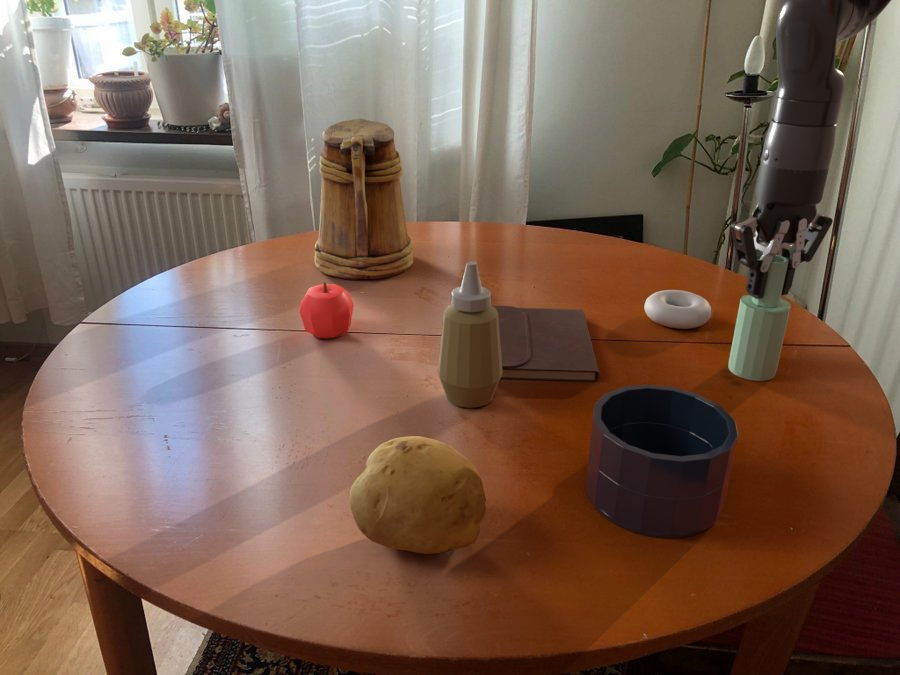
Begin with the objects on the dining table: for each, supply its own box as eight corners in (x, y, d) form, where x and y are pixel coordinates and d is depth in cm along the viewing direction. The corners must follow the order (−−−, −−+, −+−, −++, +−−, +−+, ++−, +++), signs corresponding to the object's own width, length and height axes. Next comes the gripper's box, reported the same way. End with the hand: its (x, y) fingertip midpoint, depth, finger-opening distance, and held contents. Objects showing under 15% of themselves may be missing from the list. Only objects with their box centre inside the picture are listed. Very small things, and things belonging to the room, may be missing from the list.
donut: (665, 301, 121) (630, 317, 115) (668, 281, 120) (632, 297, 114) (721, 320, 115) (687, 338, 109) (725, 300, 113) (691, 317, 107)
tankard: (407, 243, 146) (404, 113, 135) (422, 289, 126) (420, 139, 114) (314, 248, 144) (303, 116, 133) (314, 295, 123) (301, 143, 112)
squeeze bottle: (454, 376, 99) (455, 247, 91) (511, 389, 95) (517, 257, 87) (426, 404, 92) (424, 268, 84) (486, 420, 89) (489, 280, 81)
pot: (714, 463, 81) (728, 392, 77) (729, 547, 69) (746, 469, 65) (588, 448, 84) (595, 378, 80) (582, 527, 72) (590, 450, 68)
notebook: (583, 318, 115) (584, 307, 114) (599, 381, 97) (600, 368, 96) (486, 316, 116) (486, 304, 115) (484, 378, 98) (485, 365, 97)
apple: (306, 347, 106) (301, 296, 102) (297, 325, 113) (293, 276, 109) (360, 339, 108) (357, 289, 105) (349, 318, 115) (346, 269, 111)
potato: (484, 575, 66) (487, 484, 62) (345, 569, 67) (337, 479, 62) (486, 502, 75) (488, 418, 71) (363, 497, 76) (358, 414, 71)
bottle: (771, 362, 102) (795, 252, 95) (779, 383, 97) (805, 268, 90) (725, 357, 103) (746, 249, 96) (731, 378, 98) (753, 265, 91)
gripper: (767, 172, 83) (740, 313, 90) (867, 163, 86) (833, 299, 94) (725, 157, 89) (703, 290, 97) (820, 150, 93) (791, 278, 100)
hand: (767, 294), depth 95 cm, fingers closed on bottle, 3 cm apart
